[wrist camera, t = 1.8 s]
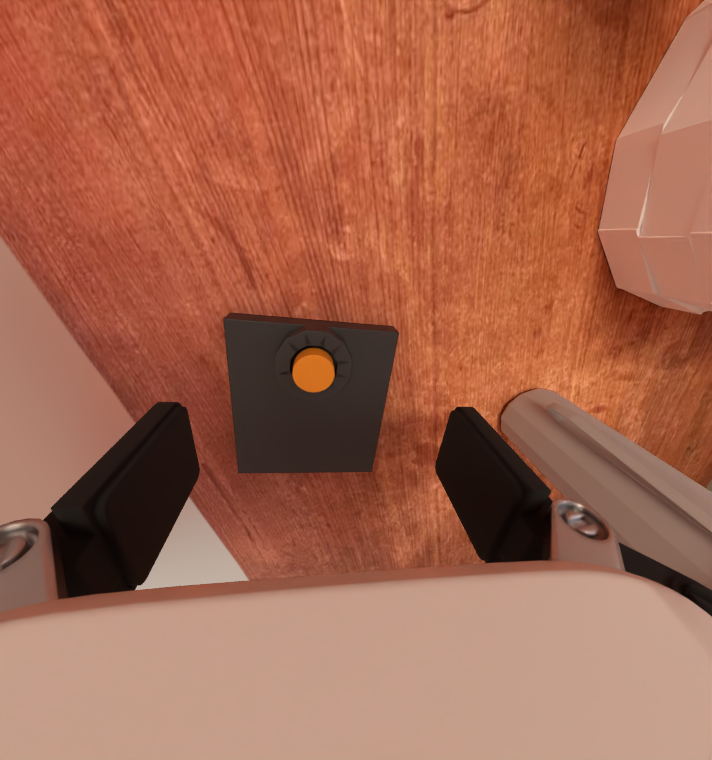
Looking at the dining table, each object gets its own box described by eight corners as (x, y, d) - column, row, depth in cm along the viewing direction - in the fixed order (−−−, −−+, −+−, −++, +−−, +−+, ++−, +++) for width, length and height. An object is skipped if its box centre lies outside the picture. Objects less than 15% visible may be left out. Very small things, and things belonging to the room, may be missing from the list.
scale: (242, 460, 30) (233, 486, 26) (229, 311, 22) (216, 323, 19) (369, 460, 32) (374, 483, 29) (393, 325, 25) (404, 337, 22)
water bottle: (563, 417, 33) (1070, 782, 11) (502, 447, 34) (851, 837, 12) (549, 357, 29) (1329, 754, 7) (480, 394, 30) (955, 844, 8)
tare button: (293, 382, 23) (291, 391, 21) (294, 346, 21) (292, 353, 20) (332, 384, 23) (332, 393, 22) (335, 348, 22) (336, 356, 20)
